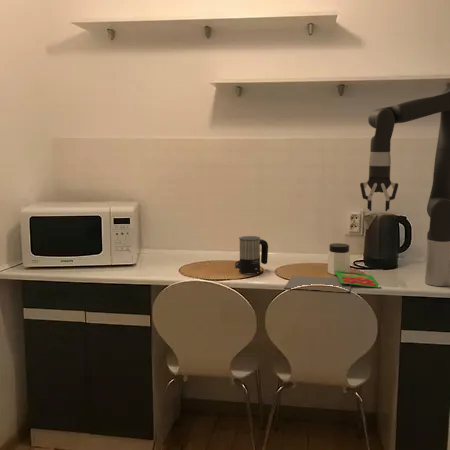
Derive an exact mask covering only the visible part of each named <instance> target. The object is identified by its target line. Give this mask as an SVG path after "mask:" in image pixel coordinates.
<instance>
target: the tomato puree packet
mask: <svg viewBox="0 0 450 450" xmlns="http://www.w3.org/2000/svg"><path fill="white" fill-rule="evenodd" d="M335 273H336V275H335V276H337V277H336V278H339V280H340V282H341V283H343V284H351V286H352V285H354V286H360V287H368V288H377V289H378V288H379V289H381V288H380V287H378V285H380V283H378V281H377V280H376V278H374V275H371V274H370V275H368V274H363V273H355V272H350V273H347V272H338V271H335Z"/></svg>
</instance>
